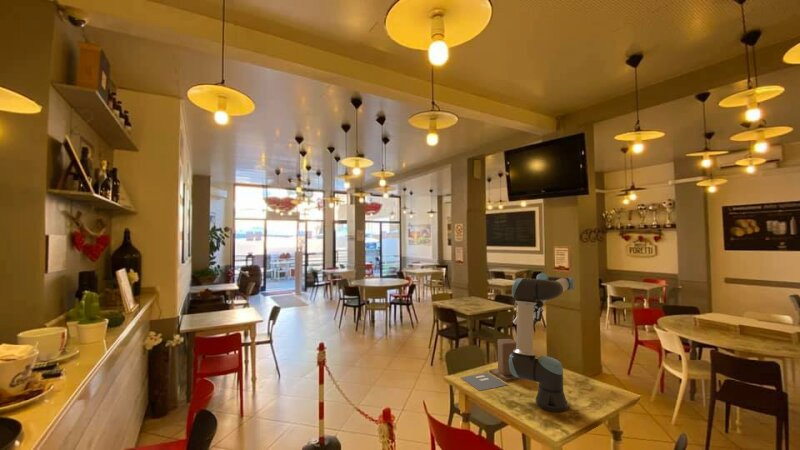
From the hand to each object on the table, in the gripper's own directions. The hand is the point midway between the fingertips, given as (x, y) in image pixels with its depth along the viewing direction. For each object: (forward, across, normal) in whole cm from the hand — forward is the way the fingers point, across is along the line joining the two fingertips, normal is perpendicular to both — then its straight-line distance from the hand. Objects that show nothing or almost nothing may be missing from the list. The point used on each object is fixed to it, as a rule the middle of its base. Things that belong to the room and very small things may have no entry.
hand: (521, 325), depth 220 cm
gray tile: (+44, -2, +1) cm, 44 cm away
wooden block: (+28, 0, -12) cm, 31 cm away
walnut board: (+29, 0, -13) cm, 32 cm away
